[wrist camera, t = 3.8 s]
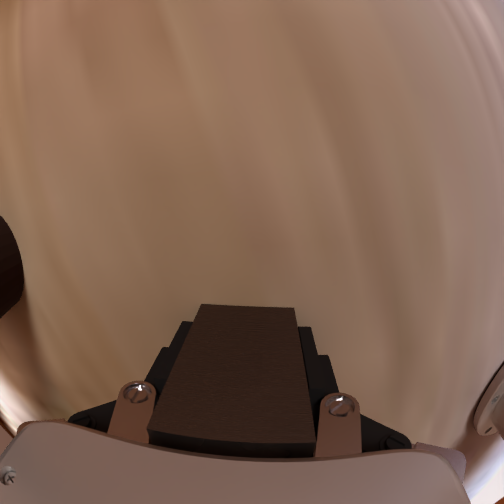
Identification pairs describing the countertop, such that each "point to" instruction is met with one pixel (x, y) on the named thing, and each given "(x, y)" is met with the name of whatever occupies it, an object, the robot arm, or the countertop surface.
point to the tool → (237, 387)
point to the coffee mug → (9, 269)
